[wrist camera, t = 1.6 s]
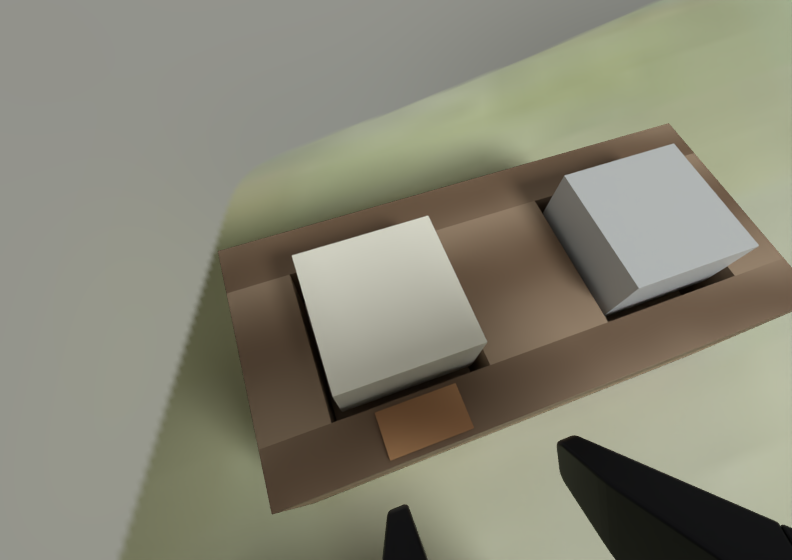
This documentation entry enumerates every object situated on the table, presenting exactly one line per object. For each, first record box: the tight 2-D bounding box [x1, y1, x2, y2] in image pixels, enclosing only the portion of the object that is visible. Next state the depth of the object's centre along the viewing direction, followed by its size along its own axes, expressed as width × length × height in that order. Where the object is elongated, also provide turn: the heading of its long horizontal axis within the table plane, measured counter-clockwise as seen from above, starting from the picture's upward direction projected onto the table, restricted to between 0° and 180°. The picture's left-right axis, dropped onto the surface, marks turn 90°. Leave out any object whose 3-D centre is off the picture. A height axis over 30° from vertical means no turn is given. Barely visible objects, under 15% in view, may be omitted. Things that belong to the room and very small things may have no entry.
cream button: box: [292, 216, 487, 412], centre depth 16 cm, size 5×5×3 cm
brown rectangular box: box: [218, 123, 792, 514], centre depth 21 cm, size 10×22×8 cm, turn 110°
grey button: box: [543, 144, 759, 317], centre depth 17 cm, size 5×5×3 cm
